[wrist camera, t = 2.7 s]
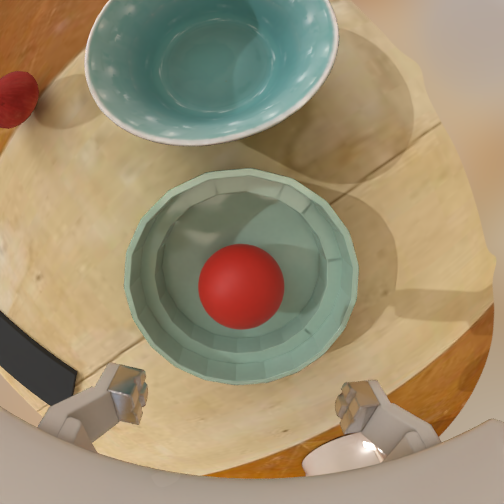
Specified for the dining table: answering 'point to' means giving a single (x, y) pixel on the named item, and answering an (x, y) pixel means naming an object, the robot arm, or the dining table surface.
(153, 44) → the bowl
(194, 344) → the fruit bowl
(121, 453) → the dining table surface
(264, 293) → the red ball
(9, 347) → the mat
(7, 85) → the onion
